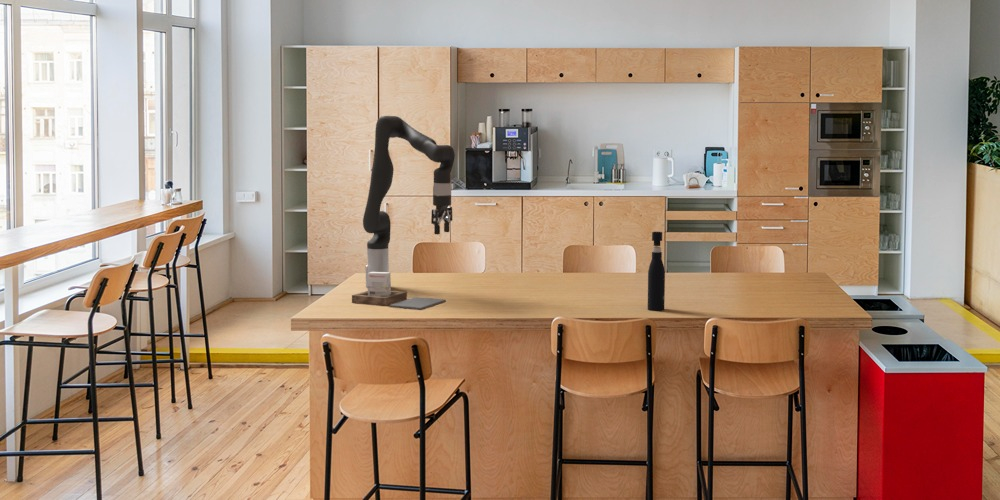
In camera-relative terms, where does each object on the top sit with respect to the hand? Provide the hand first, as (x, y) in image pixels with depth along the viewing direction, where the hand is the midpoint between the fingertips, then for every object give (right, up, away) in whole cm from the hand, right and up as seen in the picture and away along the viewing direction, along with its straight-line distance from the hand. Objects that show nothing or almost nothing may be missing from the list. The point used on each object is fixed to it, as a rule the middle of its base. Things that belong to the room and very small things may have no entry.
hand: (441, 233), depth 429 cm
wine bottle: (+84, -30, -28) cm, 94 cm away
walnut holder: (-25, -28, -7) cm, 38 cm away
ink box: (-25, -28, -7) cm, 38 cm away
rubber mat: (-9, -29, -15) cm, 33 cm away
